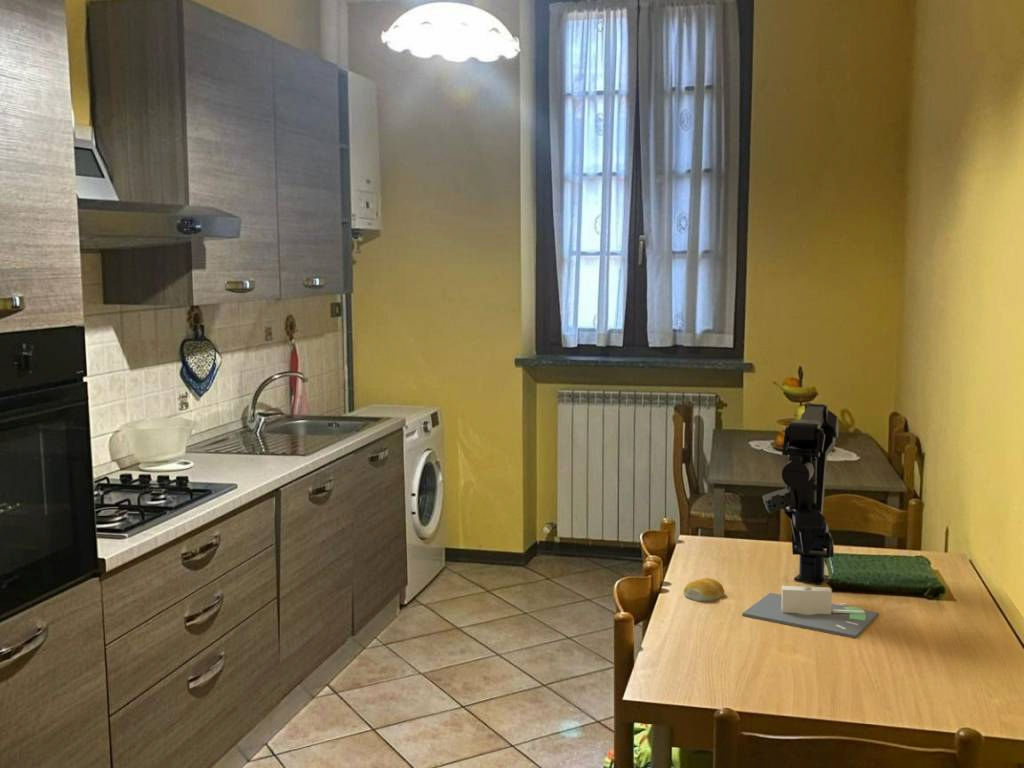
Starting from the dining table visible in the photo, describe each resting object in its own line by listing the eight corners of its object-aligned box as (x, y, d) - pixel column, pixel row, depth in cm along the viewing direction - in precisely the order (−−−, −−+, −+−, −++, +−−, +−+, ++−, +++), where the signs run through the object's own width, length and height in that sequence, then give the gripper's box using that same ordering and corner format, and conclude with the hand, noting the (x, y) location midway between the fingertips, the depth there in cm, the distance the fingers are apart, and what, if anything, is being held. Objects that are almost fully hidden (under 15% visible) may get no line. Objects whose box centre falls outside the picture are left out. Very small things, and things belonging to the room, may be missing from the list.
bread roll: (729, 595, 231) (730, 578, 230) (708, 605, 224) (708, 587, 224) (698, 587, 236) (698, 570, 236) (677, 597, 230) (677, 580, 229)
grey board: (773, 592, 231) (774, 589, 231) (881, 612, 217) (881, 608, 217) (742, 615, 217) (742, 612, 216) (855, 638, 203) (856, 634, 203)
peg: (781, 608, 219) (781, 585, 218) (863, 611, 216) (863, 587, 215) (782, 612, 216) (782, 588, 215) (865, 615, 213) (866, 591, 213)
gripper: (759, 470, 232) (758, 536, 234) (772, 488, 214) (771, 560, 216) (809, 470, 231) (807, 537, 233) (826, 488, 213) (824, 560, 214)
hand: (801, 548), depth 224 cm, fingers open, 9 cm apart
